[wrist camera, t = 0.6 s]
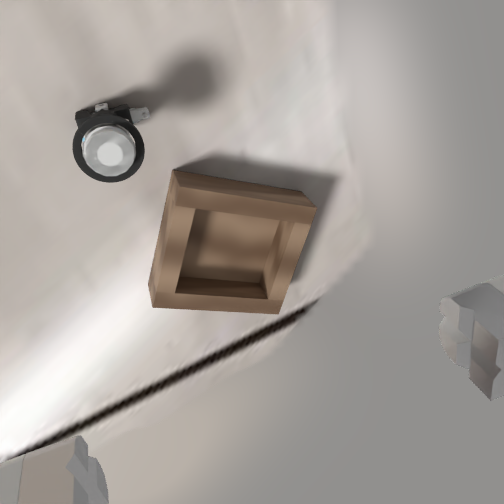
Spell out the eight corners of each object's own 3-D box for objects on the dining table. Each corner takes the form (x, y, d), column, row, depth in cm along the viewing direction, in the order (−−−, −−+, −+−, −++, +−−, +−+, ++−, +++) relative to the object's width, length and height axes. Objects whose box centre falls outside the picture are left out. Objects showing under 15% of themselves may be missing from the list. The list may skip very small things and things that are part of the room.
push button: (140, 81, 43) (153, 108, 35) (154, 137, 46) (169, 174, 38) (66, 96, 42) (61, 127, 34) (85, 153, 45) (85, 194, 37)
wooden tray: (172, 169, 48) (179, 186, 45) (301, 191, 54) (317, 208, 50) (148, 284, 54) (152, 307, 50) (266, 292, 60) (278, 314, 56)
